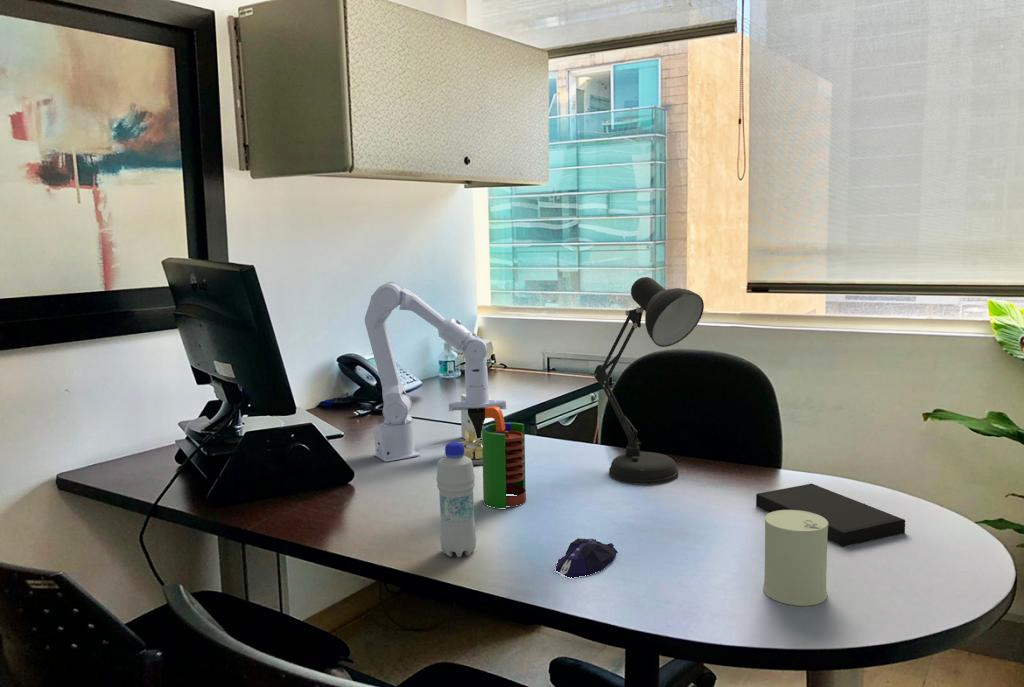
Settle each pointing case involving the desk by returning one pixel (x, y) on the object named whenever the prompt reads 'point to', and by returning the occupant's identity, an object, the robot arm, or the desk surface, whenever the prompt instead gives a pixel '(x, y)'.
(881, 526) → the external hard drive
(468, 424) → the skincare box
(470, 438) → the brass valve fitting
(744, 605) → the desk surface
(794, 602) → the can
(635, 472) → the desk lamp
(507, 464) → the coil heat exchanger
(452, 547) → the bottle
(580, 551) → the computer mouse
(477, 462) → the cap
